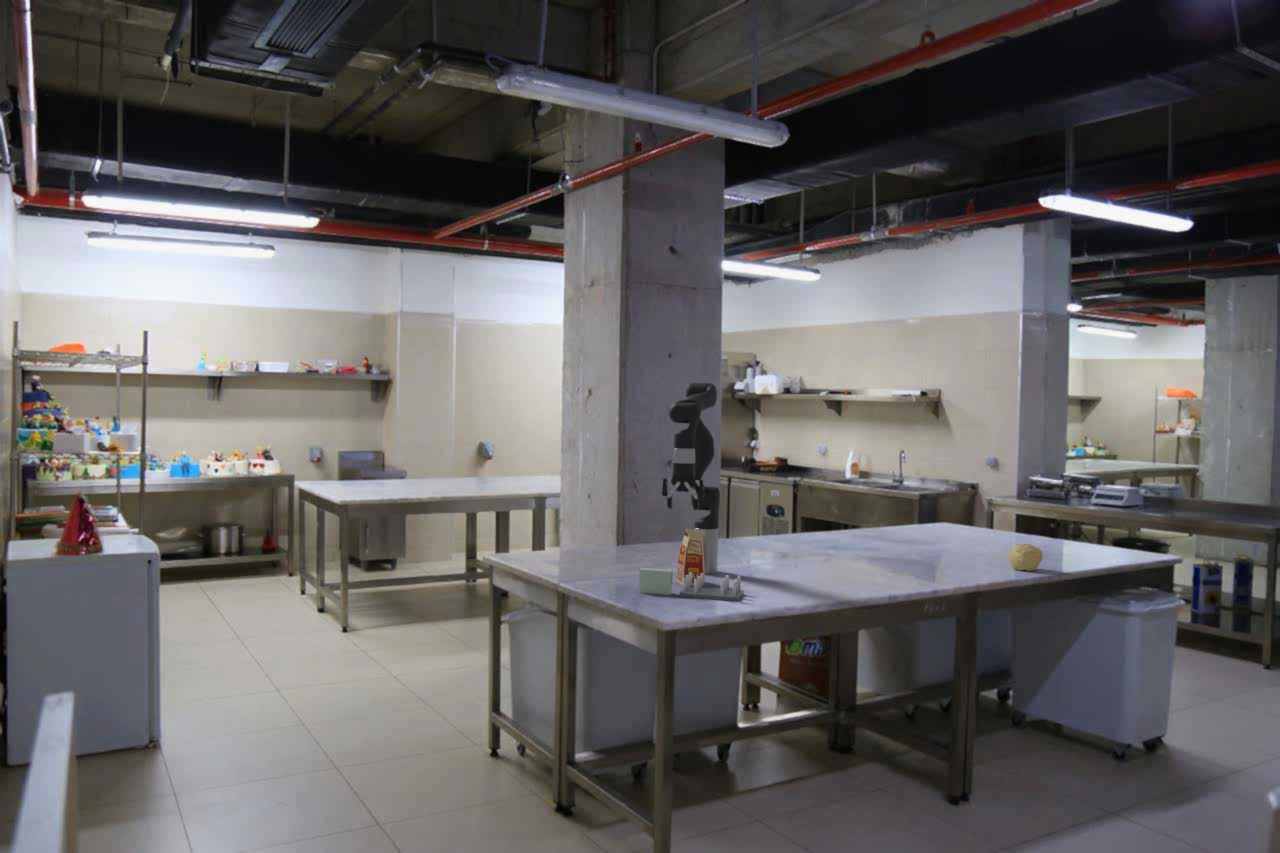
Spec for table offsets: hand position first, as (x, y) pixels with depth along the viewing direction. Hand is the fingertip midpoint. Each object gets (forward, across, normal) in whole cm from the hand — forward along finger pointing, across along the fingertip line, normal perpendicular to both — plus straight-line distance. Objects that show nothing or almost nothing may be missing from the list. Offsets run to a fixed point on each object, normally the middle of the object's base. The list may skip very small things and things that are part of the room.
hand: (682, 509), depth 304 cm
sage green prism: (+29, +9, -1) cm, 31 cm away
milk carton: (+30, +1, -23) cm, 37 cm away
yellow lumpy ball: (+30, -123, -100) cm, 161 cm away
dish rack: (+29, -10, -4) cm, 31 cm away
